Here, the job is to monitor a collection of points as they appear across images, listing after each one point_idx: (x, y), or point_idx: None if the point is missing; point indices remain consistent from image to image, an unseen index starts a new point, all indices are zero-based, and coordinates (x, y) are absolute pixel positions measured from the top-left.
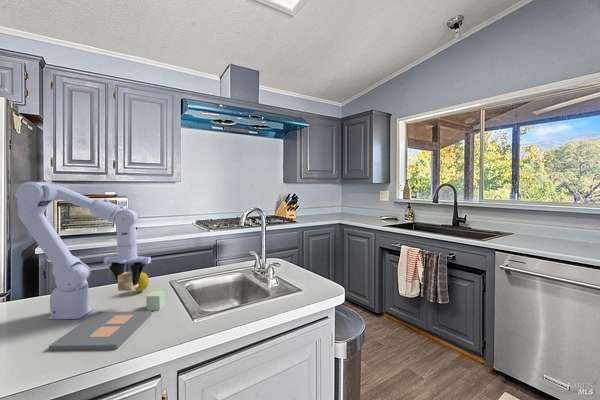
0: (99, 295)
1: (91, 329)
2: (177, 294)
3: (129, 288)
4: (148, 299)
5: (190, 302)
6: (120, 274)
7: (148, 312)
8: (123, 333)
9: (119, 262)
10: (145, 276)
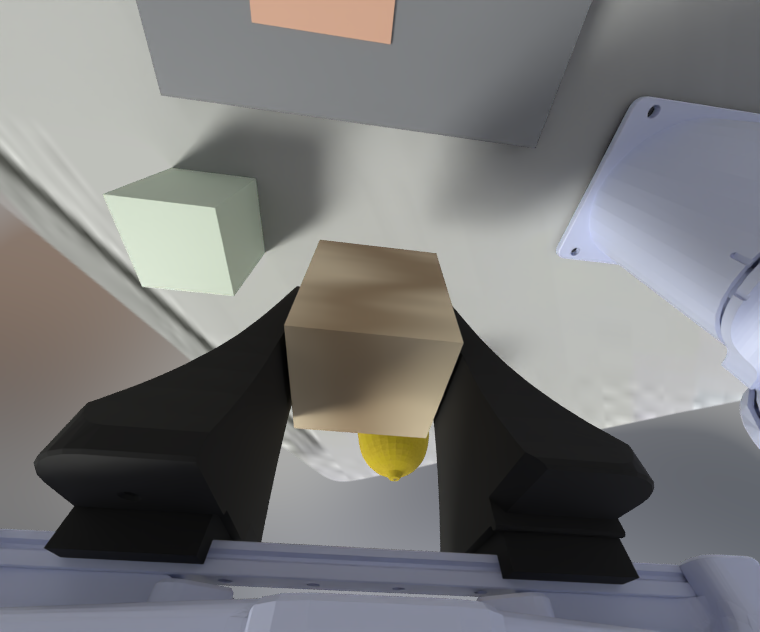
0: (556, 376)
1: None
2: (210, 346)
3: (335, 250)
4: (209, 197)
5: (65, 251)
6: (450, 391)
7: (165, 69)
8: None
9: (444, 627)
10: (365, 449)
